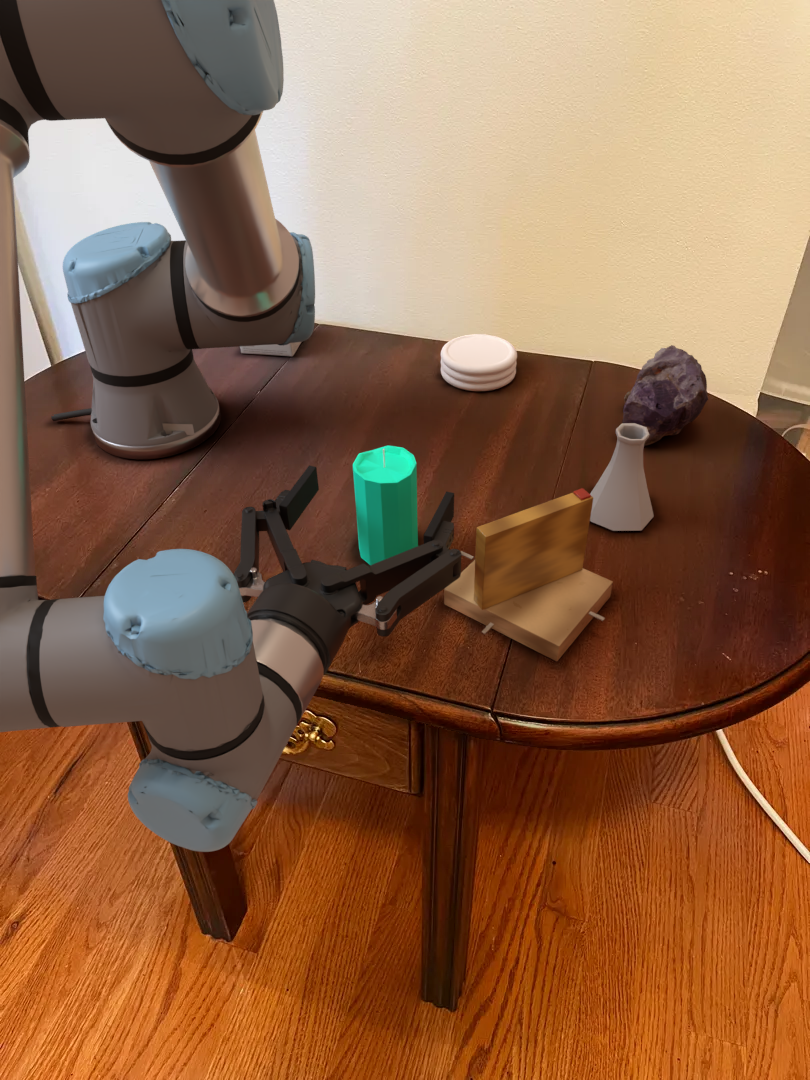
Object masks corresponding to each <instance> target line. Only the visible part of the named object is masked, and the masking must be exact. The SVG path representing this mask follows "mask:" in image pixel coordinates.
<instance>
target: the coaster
mask: <svg viewBox="0 0 810 1080" xmlns="http://www.w3.org/2000/svg"><path fill="white" fill-rule="evenodd" d="M517 359H518V351H517V349H516V347H515V346H514V345H513V344H512V343H511V342H510V341H508V340H507V339H504V338H503V337H501V336H497V335H493V334H485V333H473V334H465V335H460V336H457V337H454V338H452V339H450V340H448V342H446V343H445V344H444V345H443V346H442V348H441V350H440V374H441V376H442V378H443V380H444V381H445V382H446V383H448V384H449V385H451V386H452V387H454V388H457V389H459V390H465V391H469V392H489V391H494V390H498V389H500V388H503V387H505V386H507V385H508V384H510V383H511V382H512V381H513V380H514V379H515V377H516V374H517V365H518V363H517Z"/></svg>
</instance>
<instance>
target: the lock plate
mask: <svg viewBox="0 0 810 1080" xmlns="http://www.w3.org/2000/svg"><path fill="white" fill-rule="evenodd" d="M460 551H461V556H463V557H465V558H466V559H468V560H469V559H470V560H473V559H474V560H473V561H472V562H470V564H468V566H466V568H465V569H463V570H462V571H461V576H460V577H459V578H458V579H457V580H456V581H454V582H453V583H451V584H450V585H449V586H447V587H446V588H444V589H443V604H444V605H445V606H446V607H449V608H451V609H453V610H455V611H457V612H459V613H460V614H463V615H465V616H466V617H469V618H470V619H472V620H474V621H477V622H478V623H480V624H482V625H484V626H485V627H484V628H483V629H482V631H481V634H483V635H486V634H488V632H489V631H490V630H491V629H493V630H494V631H496V632H498V633H500V634H502V635H504V636H506V637H507V638H509V639H512V640H514V641H516V642H517V643H520V644H521V645H523V646H525V647H527V648H529V649H531V650H533V651H535V652H537V653H539V654H541V655H543V656H545V657H547V658H549V659H551V660H553V661H555V662H558V661H559V660H560V659H561V657H562V656H563V655H564V654H565V653H566V652H567V650H568V649H569V648H570V646H571V645H572V644H573V643H574V642H575V641H576V639H577V638H578V637H579V636H580V634H582V632H583V631H584V629H585V628H586V627H587V626H588V625H589V623H590V622H591V621H592V620H593V619H597V620H599V621H601V622H603V621H605V619H606V617H604V616H602V615H600V614H598V613H599V611H600V610H601V609H602V607H603V606H604V605H605V604H606V603H607V602H608V601H609V599H610V598H611V594H612V590H613V584H614V581H613V580H610V579H608V578H606V577H604V576H601V575H599V574H597V573H595V572H593V571H590V570H588V569H585V568H584V567H583V569H582V570H581V571H578V572H576V573H573V574H571V575H568V576H566V577H563V578H561V579H558V580H556V581H553V582H551V583H548V584H546V585H543V586H541V587H538V588H536V589H533V590H531V591H528V592H526V593H523V594H521V595H518V596H516V597H513V598H511V599H508V600H506V601H503V602H501V603H498V604H496V605H493V606H491V607H488V608H486V609H483V610H482V609H481V608H480V607H479V606H478V605H477V603H476V602H475V601H474V577H475V555H474V556H473V555H471V554H469V553H467V552H465V551H464V550H463V551H462V550H460Z"/></svg>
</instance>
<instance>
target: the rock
mask: <svg viewBox="0 0 810 1080" xmlns="http://www.w3.org/2000/svg"><path fill="white" fill-rule="evenodd" d="M623 400H624V405H623V409H622V412H623V415H622V416H623V417H622V423H635V424H638V425H641V426H644V427H647V430H648V432H649V437H648V439H647V440H646V441H645V443H644V446H649V445H652V444H655V443H657V442H659V441H661V439H662V438H663V437H666V436H675V435H678V434H679V433H680V432H682V430H683V428H684V427H685V426H687V425H688V424H690V423H693V422H694V420H696V419H697V418H698V416H699V415H700V414H701V412H702V411H703V410H704V407H705V405H706V403H707V402H708V401H709V396H708V382H707V376H706V374H705V372H704V371H703V369H702V365H701V363H699V360H698V359H696V358H695V357H694V356H693V355H692V354H689V353H688V352H687V351H686V350H685V349H682V348H678V347H676V345H673V344H671V345H669V346H667V347H661V348H660V349H658V351H655V353H654V356H653V357H652V358H650V359H648V360H646V363H644V364H643V365H642V366H641V369H640V370H639V372H638V373H637V375H636V379H635V382H634V385H633V386H632V388H631V389H630V390H629V391H627V392H626V393H625V395H624V398H623ZM622 423H621V424H622Z"/></svg>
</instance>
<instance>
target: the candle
mask: <svg viewBox="0 0 810 1080" xmlns="http://www.w3.org/2000/svg"><path fill="white" fill-rule="evenodd" d="M417 464H418V463H417V461H416V457H415V455H414V454H413V453H412V452H410V451H408V449H406V448H404V447H401V446H396V445H384V446H381V447H377V448H373V449H371V450H366V451H363V452H359V453H358V454H357V455H356V457H355V459H354V461H353V463H352V476H353V489H354V501H355V502H354V503H355V514H356V516H355V517H356V527H357V540H358V549H359V555H360V558H361V559H362V560H363V561H365V563H367V565H369V566H370V565H372V564H375V563H377V562H380V561H382V560H385V559H387V558H390V557H392V556H395V555H397V554H400V553H402V552H405V551H407V550H410V549H412V548H415V547H417V546H419V532H418V531H419V529H418V527H419V525H418V524H419V523H418V520H419V519H418V518H419V517H418V475H417V474H418V473H417V469H418V468H417V466H418V465H417Z"/></svg>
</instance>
